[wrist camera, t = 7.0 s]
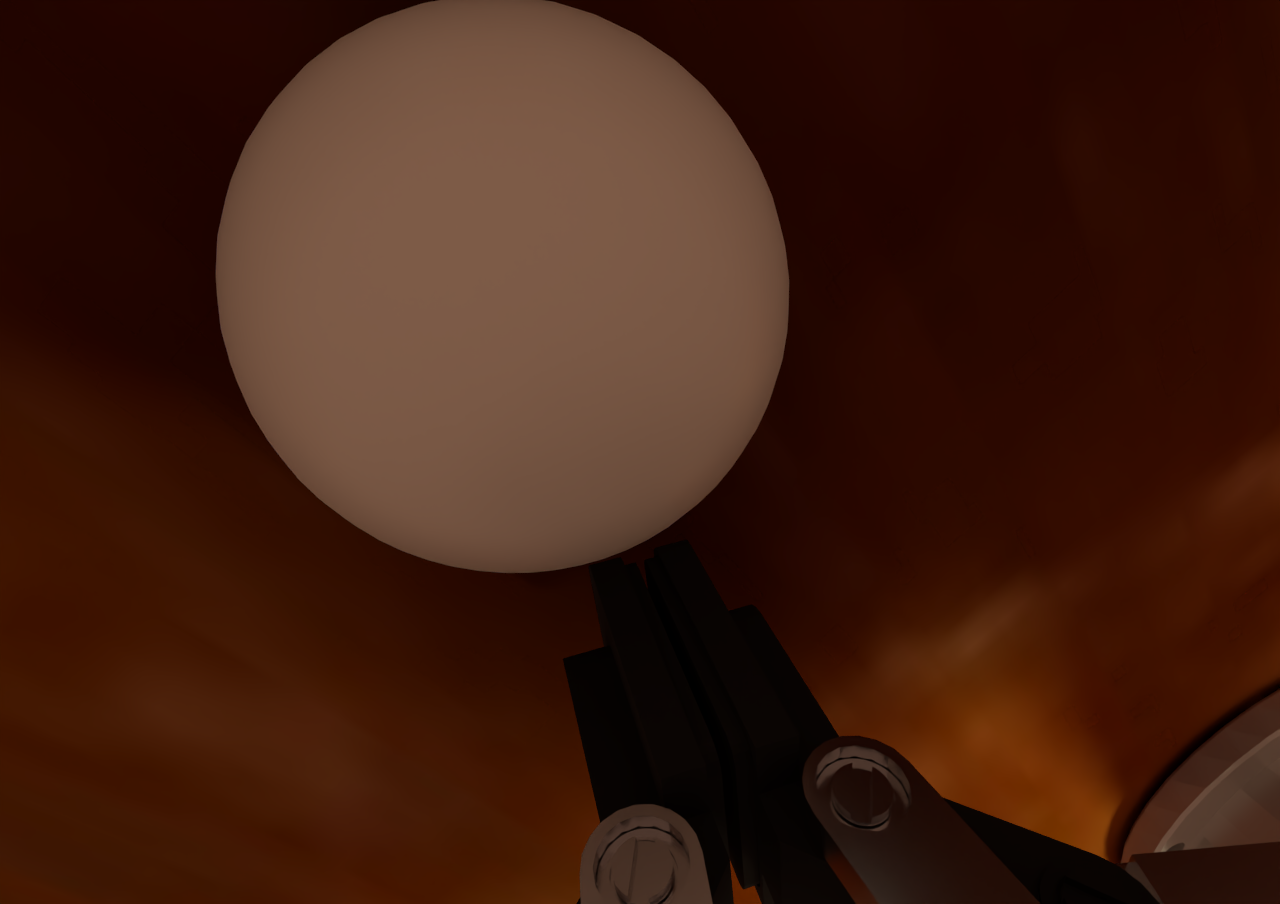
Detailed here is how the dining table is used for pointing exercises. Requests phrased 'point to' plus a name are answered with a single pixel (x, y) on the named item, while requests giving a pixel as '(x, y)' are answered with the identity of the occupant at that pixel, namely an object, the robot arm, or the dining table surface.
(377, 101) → the cue ball
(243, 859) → the dining table surface
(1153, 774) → the dining table surface
